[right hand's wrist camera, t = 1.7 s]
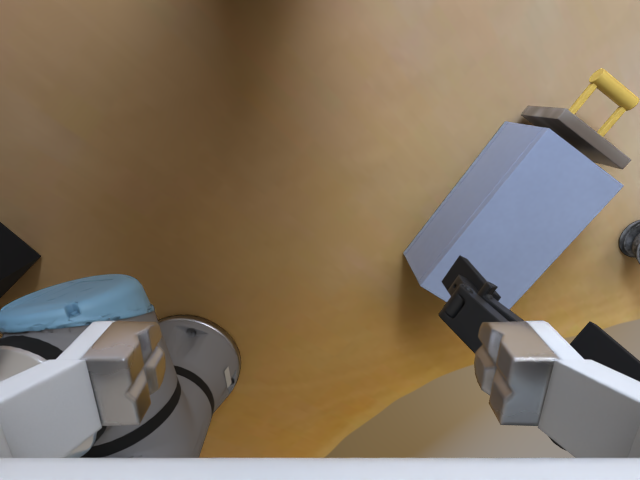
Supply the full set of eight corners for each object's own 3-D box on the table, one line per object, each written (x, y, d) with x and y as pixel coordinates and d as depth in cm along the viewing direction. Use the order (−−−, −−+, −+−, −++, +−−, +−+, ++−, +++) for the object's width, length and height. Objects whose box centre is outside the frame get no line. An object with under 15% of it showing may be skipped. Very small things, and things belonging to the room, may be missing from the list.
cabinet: (505, 121, 47) (548, 128, 38) (568, 168, 49) (624, 185, 40) (402, 252, 53) (420, 286, 44) (462, 290, 55) (491, 329, 46)
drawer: (563, 59, 44) (610, 53, 37) (620, 107, 46) (677, 110, 39) (425, 235, 51) (443, 258, 44) (480, 270, 53) (505, 298, 46)
